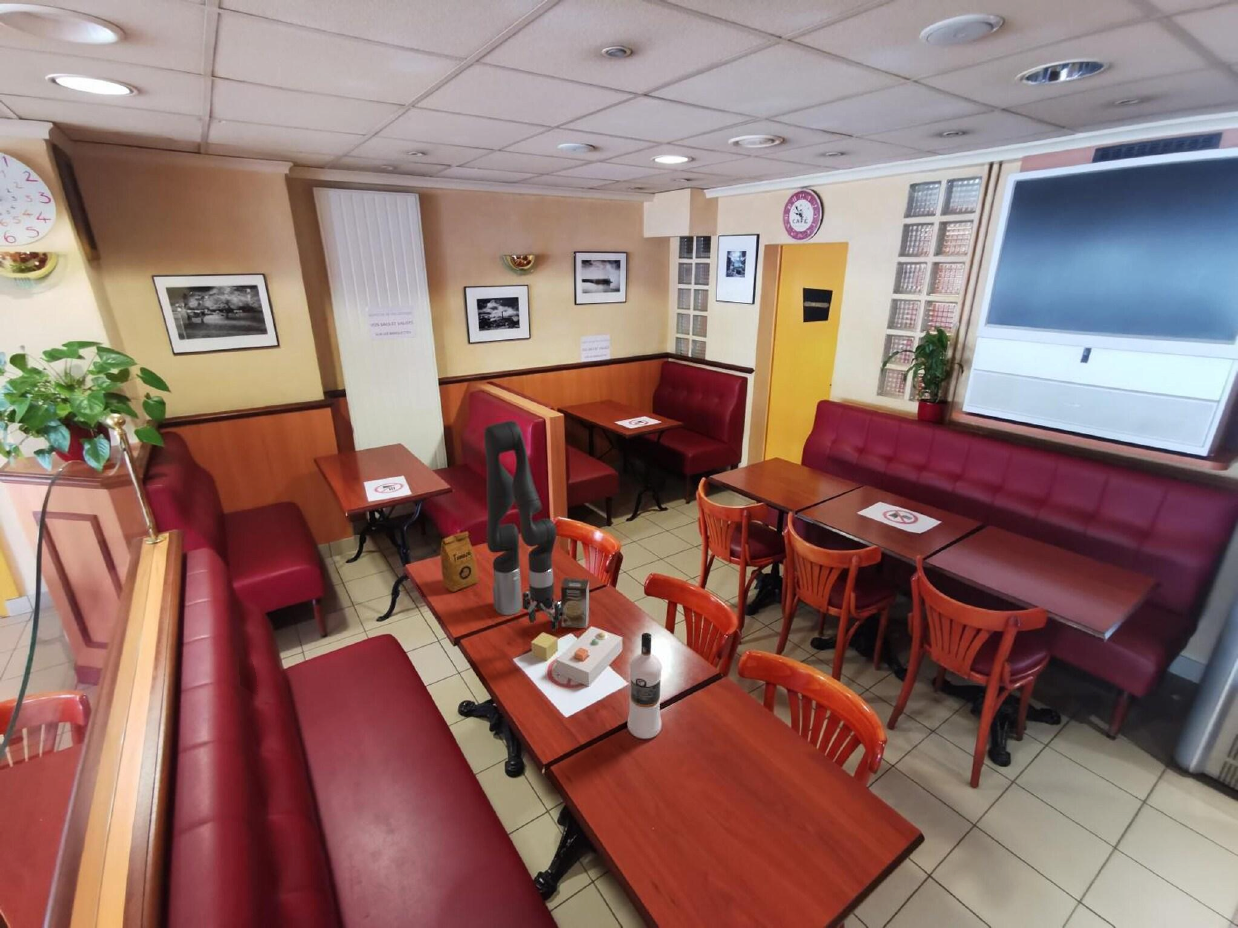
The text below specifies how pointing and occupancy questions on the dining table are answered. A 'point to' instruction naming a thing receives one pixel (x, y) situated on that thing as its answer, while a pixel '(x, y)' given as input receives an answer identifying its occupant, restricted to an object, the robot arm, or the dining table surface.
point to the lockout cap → (544, 646)
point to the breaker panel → (589, 656)
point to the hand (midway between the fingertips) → (543, 625)
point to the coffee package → (458, 562)
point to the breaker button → (581, 654)
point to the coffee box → (575, 602)
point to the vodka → (645, 692)
